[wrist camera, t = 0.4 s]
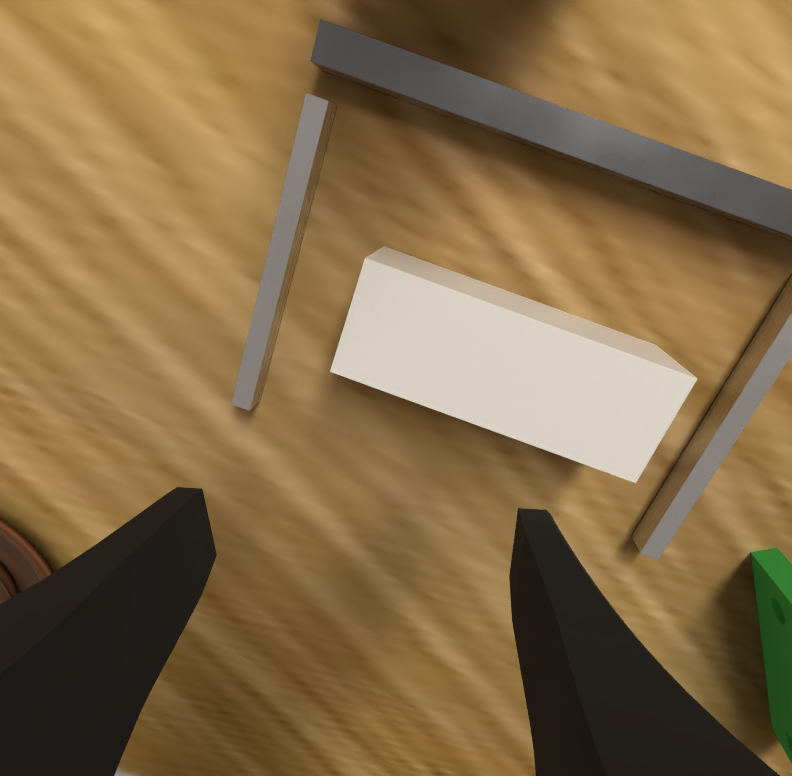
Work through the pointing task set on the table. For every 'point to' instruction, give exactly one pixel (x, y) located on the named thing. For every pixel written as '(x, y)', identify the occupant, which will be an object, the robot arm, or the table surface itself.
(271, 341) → the grey pronged frame
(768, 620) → the pipe clamp
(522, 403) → the seated block
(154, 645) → the robot arm
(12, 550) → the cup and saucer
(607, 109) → the table surface
